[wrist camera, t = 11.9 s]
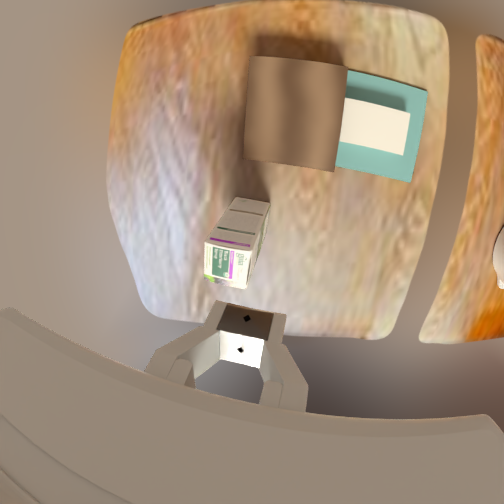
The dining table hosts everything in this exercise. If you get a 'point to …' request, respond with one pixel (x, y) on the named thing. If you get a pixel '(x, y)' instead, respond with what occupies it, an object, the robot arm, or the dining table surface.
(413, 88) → the mat
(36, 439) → the robot arm
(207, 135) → the dining table surface
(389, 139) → the cream rectangular block
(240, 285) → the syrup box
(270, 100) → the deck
